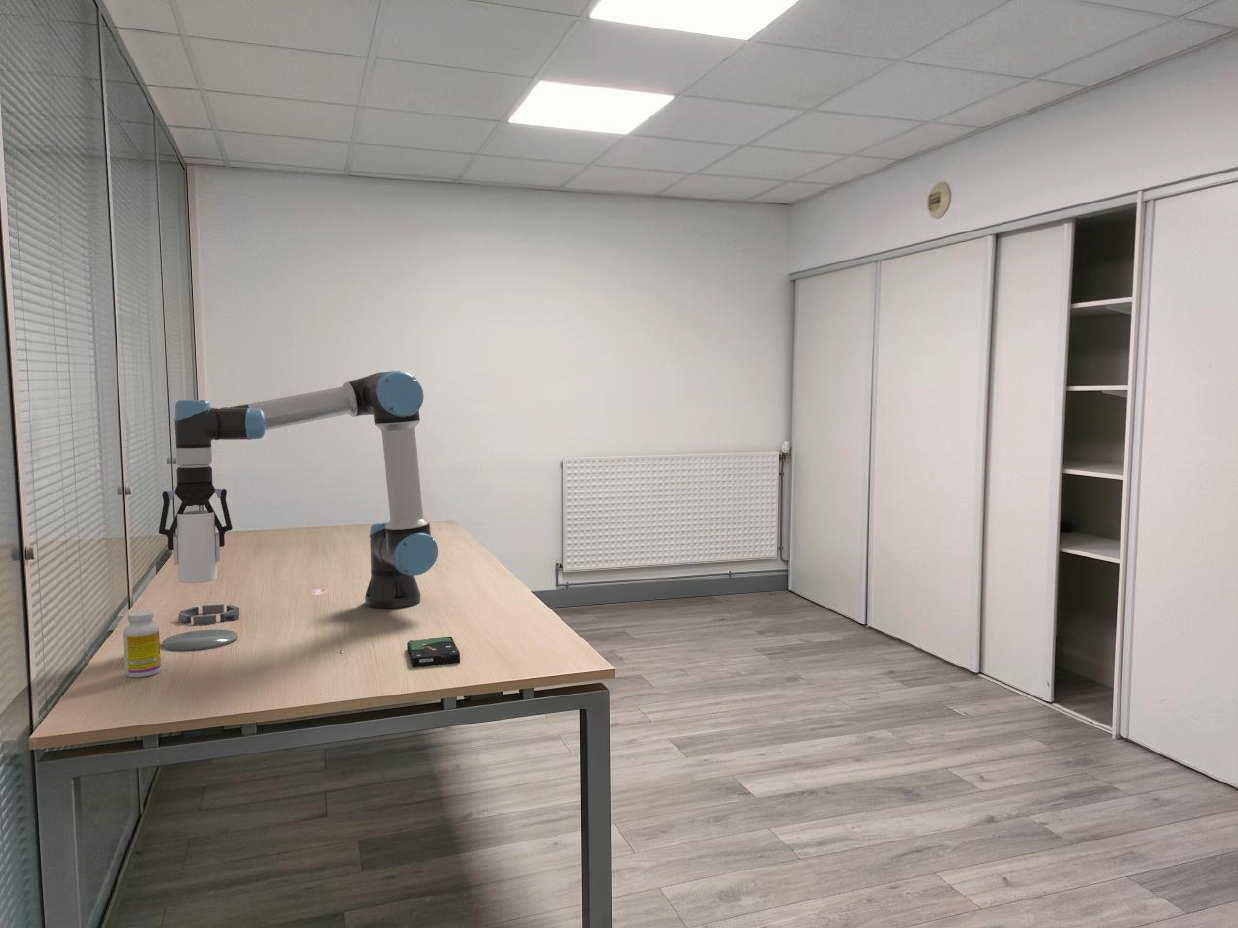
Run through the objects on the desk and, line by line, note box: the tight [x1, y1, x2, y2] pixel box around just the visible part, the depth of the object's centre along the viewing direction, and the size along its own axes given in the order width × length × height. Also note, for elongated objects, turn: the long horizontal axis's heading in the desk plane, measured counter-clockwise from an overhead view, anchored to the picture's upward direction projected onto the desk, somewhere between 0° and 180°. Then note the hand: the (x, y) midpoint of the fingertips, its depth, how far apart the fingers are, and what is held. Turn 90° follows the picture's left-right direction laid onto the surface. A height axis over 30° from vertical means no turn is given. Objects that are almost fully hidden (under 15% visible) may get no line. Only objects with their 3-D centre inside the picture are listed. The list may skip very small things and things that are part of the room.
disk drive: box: [406, 636, 461, 668], centre depth 197 cm, size 10×3×15 cm
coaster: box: [161, 629, 238, 652], centre depth 209 cm, size 16×16×1 cm
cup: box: [175, 509, 218, 584], centre depth 207 cm, size 8×8×16 cm
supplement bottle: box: [122, 610, 162, 679], centre depth 184 cm, size 7×7×13 cm
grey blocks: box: [178, 604, 240, 626], centre depth 231 cm, size 17×14×2 cm
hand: (197, 561), depth 207 cm, fingers closed on cup, 8 cm apart
